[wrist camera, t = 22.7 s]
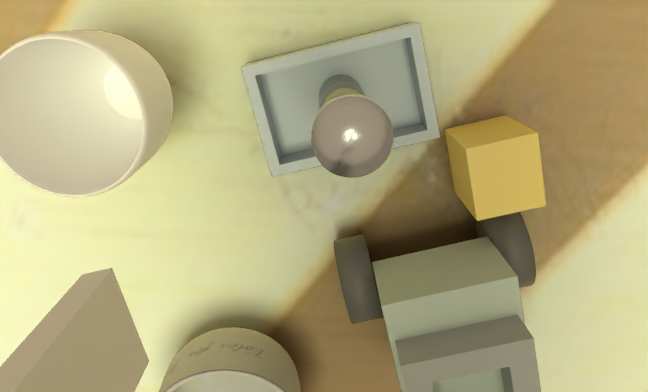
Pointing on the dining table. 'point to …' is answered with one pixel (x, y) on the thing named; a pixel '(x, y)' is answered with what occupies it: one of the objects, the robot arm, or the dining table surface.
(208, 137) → the dining table surface
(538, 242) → the dining table surface
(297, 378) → the teacup
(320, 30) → the dining table surface
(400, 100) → the tray
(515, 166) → the block
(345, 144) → the flashlight
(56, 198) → the dining table surface
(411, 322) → the trolley
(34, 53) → the mug
